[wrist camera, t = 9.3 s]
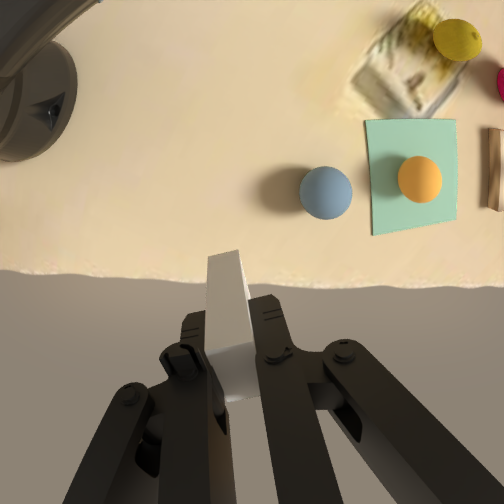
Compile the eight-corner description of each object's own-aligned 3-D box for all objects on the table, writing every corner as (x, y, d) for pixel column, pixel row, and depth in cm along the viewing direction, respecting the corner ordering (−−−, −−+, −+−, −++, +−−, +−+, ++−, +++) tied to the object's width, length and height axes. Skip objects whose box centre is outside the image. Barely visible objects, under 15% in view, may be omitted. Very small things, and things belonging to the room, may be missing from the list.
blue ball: (358, 174, 27) (350, 165, 32) (300, 168, 28) (301, 160, 33) (352, 229, 29) (345, 212, 34) (296, 224, 30) (298, 208, 35)
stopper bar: (498, 204, 36) (509, 209, 34) (487, 206, 36) (498, 211, 34) (499, 129, 31) (511, 131, 29) (488, 128, 31) (500, 130, 29)
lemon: (441, 71, 28) (482, 67, 21) (414, 37, 26) (453, 25, 19) (458, 51, 27) (498, 45, 20) (434, 18, 25) (472, 6, 18)
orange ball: (441, 166, 26) (447, 159, 30) (394, 154, 29) (406, 148, 33) (433, 215, 29) (441, 201, 32) (389, 201, 32) (401, 190, 36)
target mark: (372, 235, 36) (373, 235, 36) (364, 120, 31) (365, 120, 30) (455, 219, 36) (456, 219, 36) (454, 119, 31) (455, 119, 31)
